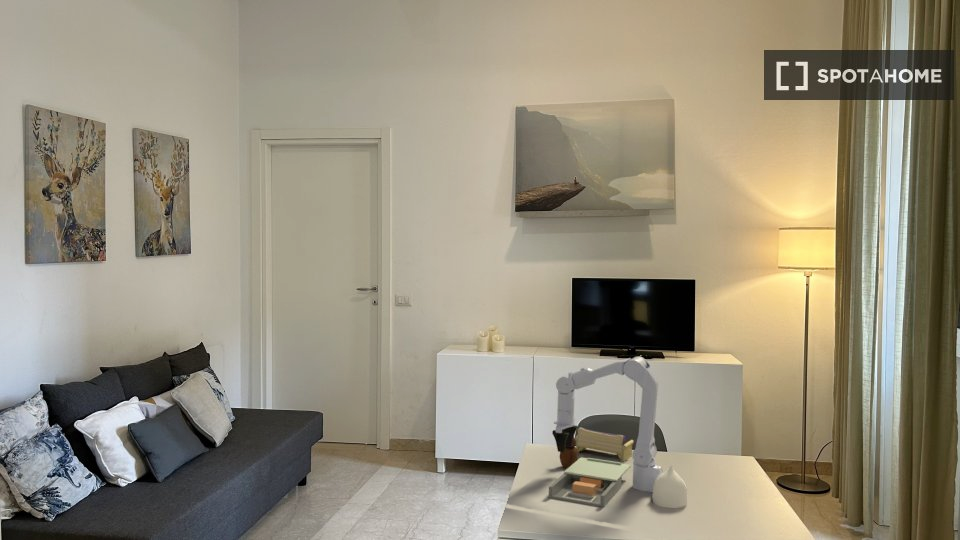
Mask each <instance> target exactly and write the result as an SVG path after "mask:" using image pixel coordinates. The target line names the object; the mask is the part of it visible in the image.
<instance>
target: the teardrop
mask: <svg viewBox="0 0 960 540" xmlns="http://www.w3.org/2000/svg"><path fill="white" fill-rule="evenodd" d="M651 502H653V504H655V505H657V506H659V507H663V508H669V509H680V508H685V507H687V506H688V488H687V485H686V482H685V481H684V480H683V478H682V477H681V476H680V475H679V474H678V473H677V472H676V471H675V470H674V469H673V466H672V465H670V466H669V467H668V469H667V470H665V471H663V472H662V474H660V476H659V477H658V478H657V479H656V480H655V483H654V486H653V492H652V495H651Z"/></svg>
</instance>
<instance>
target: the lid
mask: <svg viewBox="0 0 960 540" xmlns="http://www.w3.org/2000/svg"><path fill="white" fill-rule="evenodd" d="M631 466H632V465H631V464H628V463H623V462H621V461H620V462H619V461H613V460H606V459H600V458H593V457H592V458H591V457H580V458H579V457H578V460H577V461H576V462H575V463H574V464H572V465H571V466H570V467H569V468H565V470H564V471H563V474H564V473H566V474H572V475H573V476H579V477H581V476H584V477H591V478H597V479H603V481H611V482H613V481H616V482H617V481H618V480H619V479H620V478H621V477H623V476H624V474H626V472H627V471H628V470H629V469H630V468H631Z"/></svg>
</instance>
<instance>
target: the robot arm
mask: <svg viewBox="0 0 960 540" xmlns="http://www.w3.org/2000/svg"><path fill="white" fill-rule="evenodd" d="M614 374H617V375H620V376H624V375H625V377H627V378H628V379H629V380H632V381H633V382H636V384H637V385H639V386H640V388H642V390H641V403H640V413H639V414H640V416H639V424H638V425H639V426H638V435H637V439H636V444H635V449H633V450H632V457H631V458H632V459H633V461H632V462H633V463H632V464H633V465H632V488H633V489H635V490H637V491H643V492H651V493H653V486H654V483H655V480H656V479H657V478H658V477H659V476H660V474H662V473H663V467H662V466H661V465H658V464H656V461H655V459H654V458H655V457H656V455H657V451H658V450H657V449H658V448H657V446H656V444H655V442H656V439H655V424H656V413H657V402H658V401H657V400H658V393H659V391H658V390H659V382H658V379H657V378H656V375H655V373H654V370H653V368H652V365H651V363H650V362H649V361H648V360H646V359H645V358H644V357H642V356H634V357H632V359H631V357H629V358H624V359H620V360H617V361H613V362H612V363H609V364H606V365H604V366H601V367H598V368H595V369H592V368H590V367H581V368H580V370H578V371H575V372H568V374H566V375H563V376H561V377H559V378H558V379H557V380H556V382H555V386H556V389H557V391H558V392H557V408H556V409H557V411H556V412H557V413H556V414H557V416H556V417H557V418H556V420H554V422H553V424H554V425H555V429H554V430H552V433H551V434H552V435H553V437H554V440H555V444H556V449H557V452H558V453H560V452H564V451H565V446H568V447H571V445H572V442H573V437H574V438H575V434H576V431H578V425H575V419H576V418H575V390H580V389H582V388H585V387H588V386H592V385H594V384H595V383H596V380H597V379H601V378H604V377H607V376H610V375H614Z"/></svg>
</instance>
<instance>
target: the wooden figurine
mask: <svg viewBox="0 0 960 540" xmlns="http://www.w3.org/2000/svg"><path fill="white" fill-rule="evenodd" d="M576 443H577V440H576V439H575V436H574V437H573V442H572V445H571V447H568V446H565V451H564V452H559V460H560V465H561V467H563V468H564V469H568V468H569V467H570V466H571V465H572V464H574V463H575V462H576V461H577V460H578V459H579V453H578V451H577V449H576Z"/></svg>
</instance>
